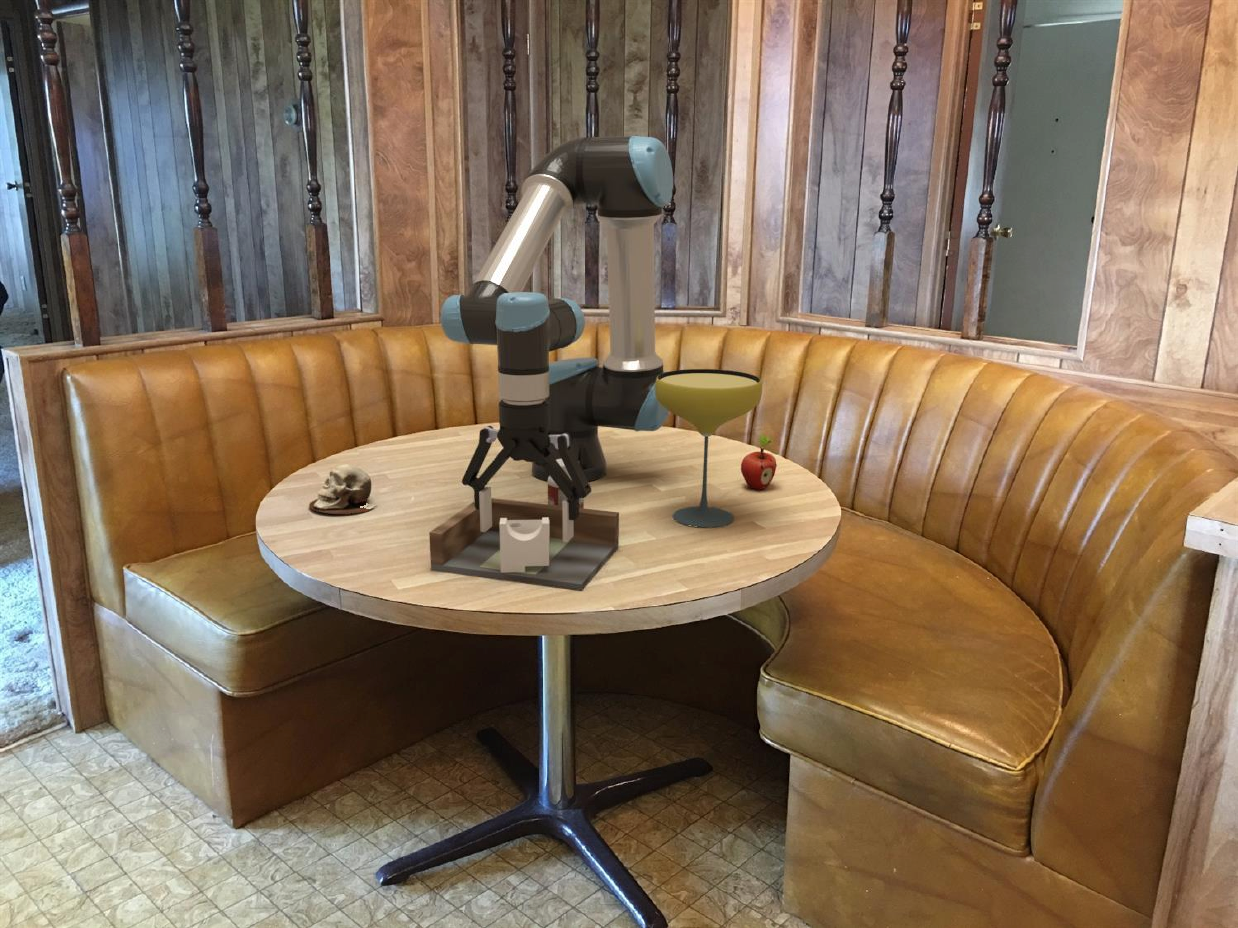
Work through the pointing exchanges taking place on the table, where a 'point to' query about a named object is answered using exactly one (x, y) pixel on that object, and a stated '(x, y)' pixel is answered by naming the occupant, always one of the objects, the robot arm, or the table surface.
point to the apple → (759, 467)
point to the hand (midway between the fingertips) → (526, 534)
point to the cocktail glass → (707, 419)
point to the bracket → (524, 544)
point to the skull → (344, 491)
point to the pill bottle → (558, 490)
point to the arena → (568, 568)
